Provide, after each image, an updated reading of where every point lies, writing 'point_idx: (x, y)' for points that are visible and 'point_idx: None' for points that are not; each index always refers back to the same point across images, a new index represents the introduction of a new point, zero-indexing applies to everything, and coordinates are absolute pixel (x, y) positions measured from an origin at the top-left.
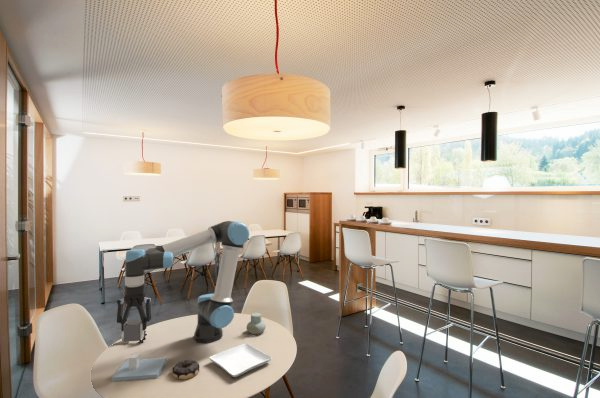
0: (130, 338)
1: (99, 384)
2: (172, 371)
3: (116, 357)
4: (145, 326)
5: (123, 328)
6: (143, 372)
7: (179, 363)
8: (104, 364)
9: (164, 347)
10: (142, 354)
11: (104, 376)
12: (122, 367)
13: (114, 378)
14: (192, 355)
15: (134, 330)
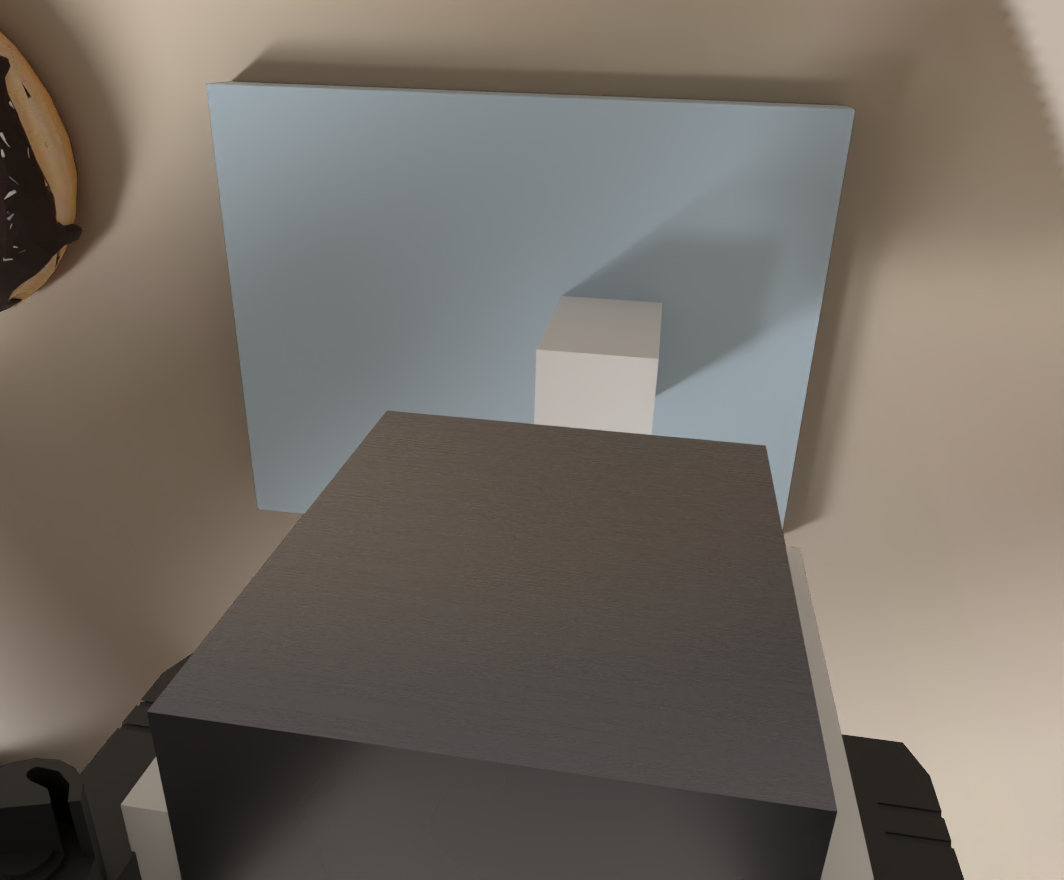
0: (578, 460)
1: (1008, 44)
2: (12, 93)
3: (939, 718)
4: (121, 739)
5: (867, 810)
6: (425, 177)
7: None
8: (1059, 588)
9: None
10: None
11: (986, 269)
12: (772, 383)
13: (811, 108)
14: (37, 547)
15: (407, 578)
